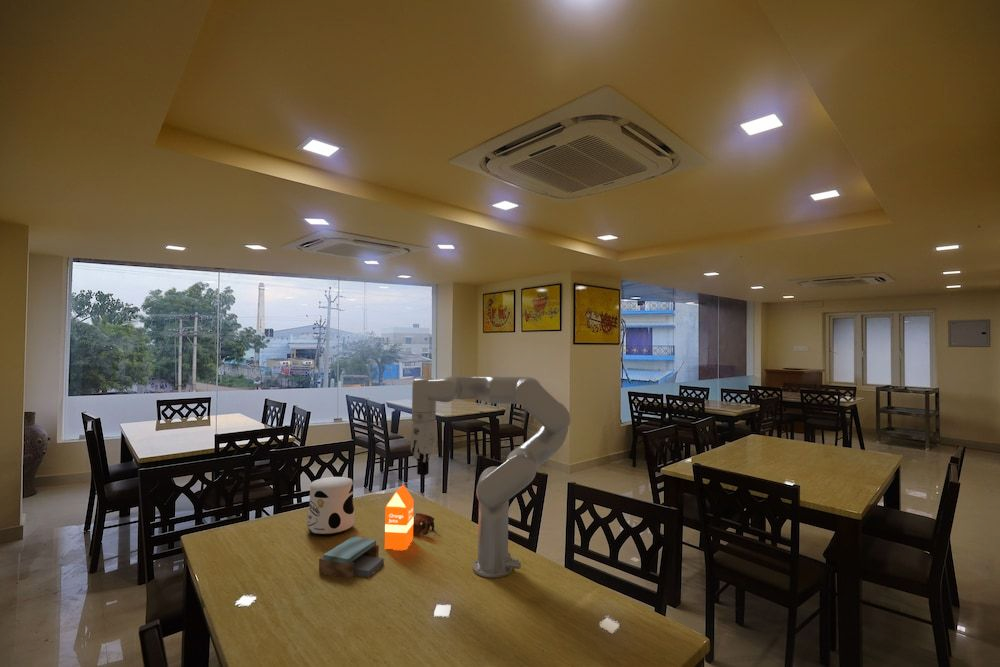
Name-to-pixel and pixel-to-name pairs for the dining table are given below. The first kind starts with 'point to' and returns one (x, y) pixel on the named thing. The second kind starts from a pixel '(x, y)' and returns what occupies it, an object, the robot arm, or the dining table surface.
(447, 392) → the robot arm
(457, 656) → the dining table surface
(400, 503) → the orange juice
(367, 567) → the slate tile
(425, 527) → the pottery mug
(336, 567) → the shelf dock
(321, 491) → the milk container
